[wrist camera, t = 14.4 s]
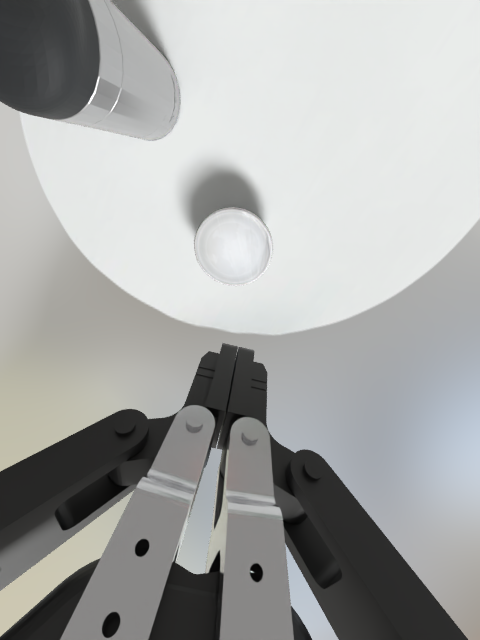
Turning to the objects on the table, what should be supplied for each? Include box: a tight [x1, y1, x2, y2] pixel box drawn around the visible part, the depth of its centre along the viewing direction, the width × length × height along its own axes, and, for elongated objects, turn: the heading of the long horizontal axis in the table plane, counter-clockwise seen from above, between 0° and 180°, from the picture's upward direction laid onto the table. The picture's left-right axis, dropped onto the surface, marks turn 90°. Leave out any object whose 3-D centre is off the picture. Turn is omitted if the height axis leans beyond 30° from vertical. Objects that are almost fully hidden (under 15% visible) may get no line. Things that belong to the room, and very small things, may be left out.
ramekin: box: [194, 207, 273, 286], centre depth 37 cm, size 11×11×5 cm
